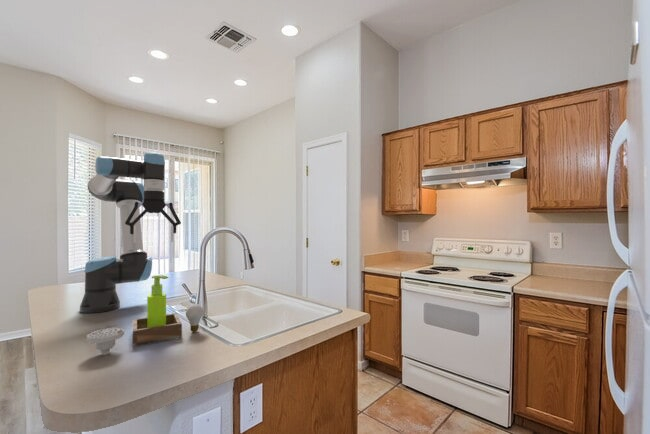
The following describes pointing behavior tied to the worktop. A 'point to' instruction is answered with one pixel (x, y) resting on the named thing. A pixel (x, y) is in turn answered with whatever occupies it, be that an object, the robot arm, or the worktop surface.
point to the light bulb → (194, 316)
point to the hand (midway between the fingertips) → (153, 242)
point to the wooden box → (156, 330)
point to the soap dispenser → (156, 304)
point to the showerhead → (105, 338)
